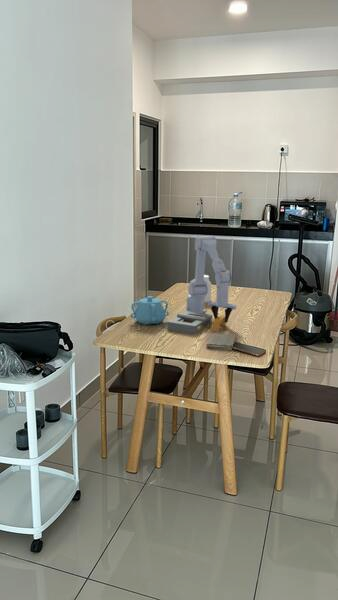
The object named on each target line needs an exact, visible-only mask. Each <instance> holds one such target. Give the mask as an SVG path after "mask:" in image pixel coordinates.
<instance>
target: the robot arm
mask: <svg viewBox="0 0 338 600" xmlns="http://www.w3.org/2000/svg"><path fill="white" fill-rule="evenodd" d="M194 250H195V251H196V253H195V254H196V256H195V270H194V271H195V273H194V278H193V279H192V280H190V281H189V285H188V289H187V291H188V294H189V295H187V297H186V309H185V311H189V312H196V313H203V314H205V312H207V309H205V302H204V297H205V296H206V294H207V293H208V283H207V282H206V281H205V280H204V275H205V268H206V256H207V254H208V255H209V258H210V259H211V261H212V263H211V266H212V268H213V271H214V273H215V276H214V280H215V286H216V301H209V302H207V307H210V311H211V312H212V316H213V317H214V319H213V320H215V319H216V318H217V317H219V309H220V308H223V309H224V314H225V315H224V316H225V323H226V324H227V323H228V322H229V318H230V316H231V314H232V311H233V310H234V311H235V310H236V309H237V305H236V304H231V303H229V288H230V287H229V285H230V282H231V281H232V273H231V271H230V270H228V269H227V268H226V266H225V264H224V261H223V259H221V258H220V257H219V254H218V250H217V238H216V237H215V236H214V235H209V236H208V235H206V236H197V237H196V238H195V240H194Z"/></svg>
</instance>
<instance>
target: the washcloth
mask: <svg viewBox="0 0 338 600" xmlns="http://www.w3.org/2000/svg"><path fill="white" fill-rule="evenodd" d="M235 341H236V334H233V333H232V334H231V333H216V332H215V333H214V332H212V333H210V335H209V337H208V339H207V342H206V349H211V350H217V351H218V350H220V351H226V352H227V351H228V352H229V351H232V350H233V349H232V346H233V344H234V345H235ZM233 347H234V346H233Z"/></svg>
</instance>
